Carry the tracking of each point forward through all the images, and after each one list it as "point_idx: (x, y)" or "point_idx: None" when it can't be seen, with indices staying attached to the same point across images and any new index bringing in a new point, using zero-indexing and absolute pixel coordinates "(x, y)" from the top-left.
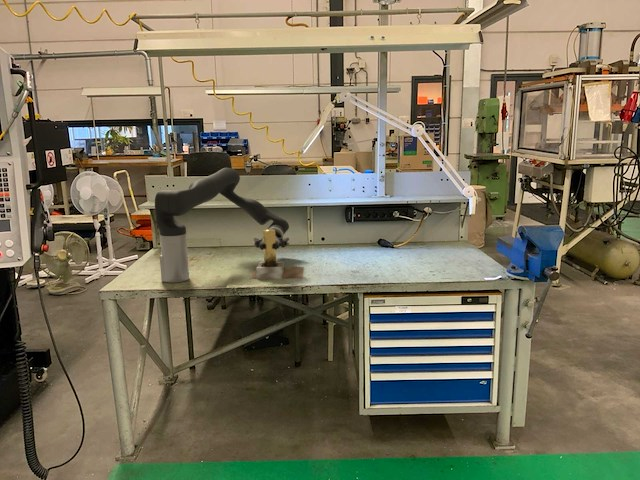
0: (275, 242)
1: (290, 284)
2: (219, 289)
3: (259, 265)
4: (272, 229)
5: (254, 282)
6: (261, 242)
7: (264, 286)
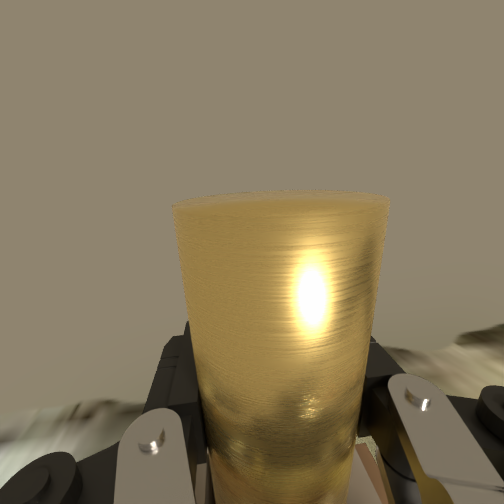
0: None
1: None
2: (399, 349)
3: (357, 482)
4: (230, 213)
5: None
6: (404, 383)
7: None
